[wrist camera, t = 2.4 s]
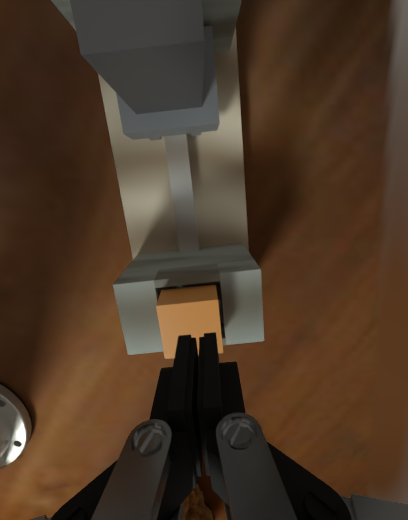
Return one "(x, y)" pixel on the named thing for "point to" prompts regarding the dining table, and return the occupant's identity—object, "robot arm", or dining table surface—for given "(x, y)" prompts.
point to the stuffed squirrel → (196, 506)
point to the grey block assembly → (187, 207)
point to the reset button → (188, 315)
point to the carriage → (152, 63)
